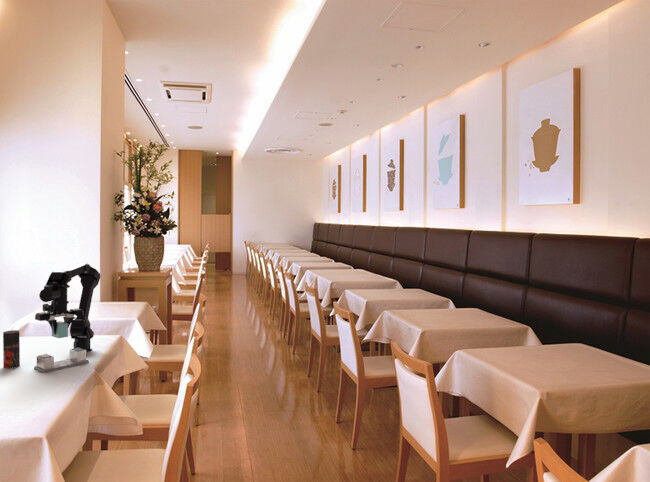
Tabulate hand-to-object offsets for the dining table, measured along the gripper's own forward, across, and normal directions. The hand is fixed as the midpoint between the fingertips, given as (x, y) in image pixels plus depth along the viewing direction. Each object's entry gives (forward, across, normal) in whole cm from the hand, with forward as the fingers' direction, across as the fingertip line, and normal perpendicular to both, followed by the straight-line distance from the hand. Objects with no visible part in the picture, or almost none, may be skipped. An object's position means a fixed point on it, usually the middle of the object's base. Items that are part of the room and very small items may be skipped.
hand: (59, 333), depth 222 cm
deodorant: (+13, +17, -7) cm, 22 cm away
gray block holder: (+12, +2, +7) cm, 15 cm away
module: (+1, 0, 0) cm, 1 cm away
